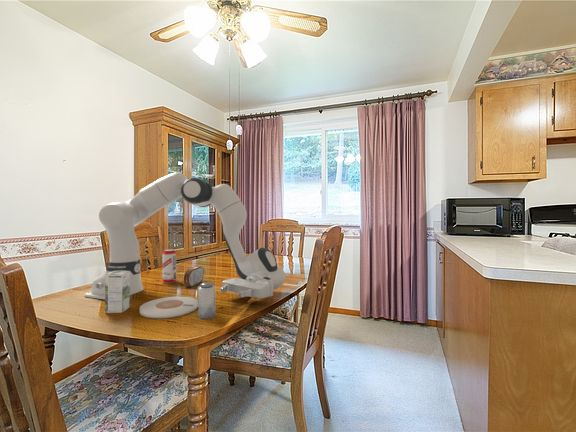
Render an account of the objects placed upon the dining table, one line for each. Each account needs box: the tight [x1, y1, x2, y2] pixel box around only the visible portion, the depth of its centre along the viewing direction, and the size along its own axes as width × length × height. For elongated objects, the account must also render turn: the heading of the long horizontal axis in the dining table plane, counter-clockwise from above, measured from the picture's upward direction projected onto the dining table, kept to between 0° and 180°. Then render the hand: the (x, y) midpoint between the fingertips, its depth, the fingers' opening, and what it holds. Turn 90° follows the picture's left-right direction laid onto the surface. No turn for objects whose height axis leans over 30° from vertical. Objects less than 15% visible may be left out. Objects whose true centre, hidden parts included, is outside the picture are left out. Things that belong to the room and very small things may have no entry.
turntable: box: [139, 296, 198, 319], centre depth 105 cm, size 19×19×2 cm
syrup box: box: [104, 270, 131, 314], centre depth 104 cm, size 6×6×14 cm
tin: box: [183, 265, 205, 288], centre depth 143 cm, size 15×3×8 cm, turn 169°
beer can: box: [161, 248, 177, 285], centre depth 147 cm, size 6×6×16 cm
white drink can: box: [197, 281, 216, 320], centre depth 98 cm, size 6×6×12 cm
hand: (230, 292), depth 107 cm, fingers open, 8 cm apart
